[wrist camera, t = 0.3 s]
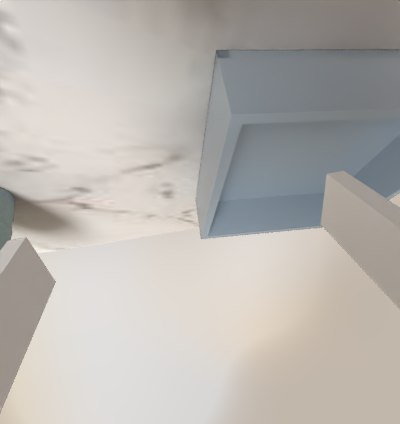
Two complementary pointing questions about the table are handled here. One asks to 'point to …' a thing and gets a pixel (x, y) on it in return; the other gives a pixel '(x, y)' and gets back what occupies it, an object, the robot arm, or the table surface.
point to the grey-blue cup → (6, 216)
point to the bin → (295, 135)
